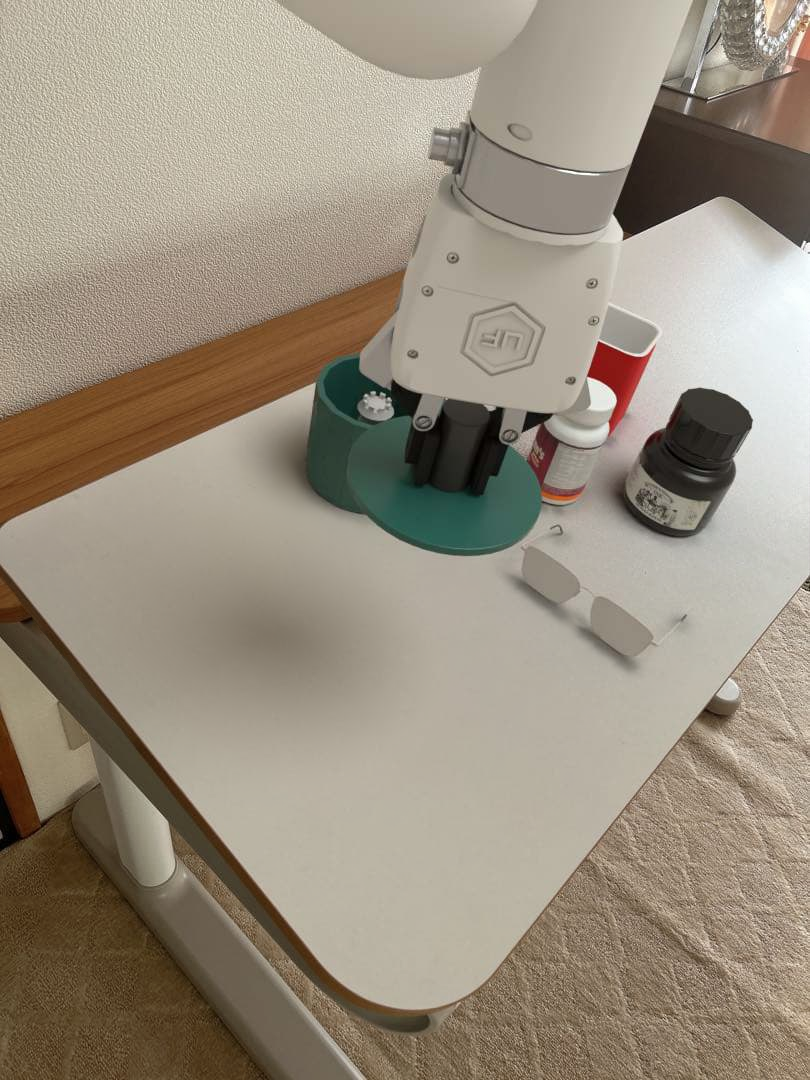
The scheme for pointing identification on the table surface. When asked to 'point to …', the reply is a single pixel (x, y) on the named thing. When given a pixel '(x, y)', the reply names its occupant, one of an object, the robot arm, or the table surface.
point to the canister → (339, 427)
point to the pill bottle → (571, 446)
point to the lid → (444, 487)
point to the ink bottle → (688, 463)
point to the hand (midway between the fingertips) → (447, 473)
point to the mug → (623, 355)
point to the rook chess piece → (375, 409)
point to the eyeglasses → (605, 613)
